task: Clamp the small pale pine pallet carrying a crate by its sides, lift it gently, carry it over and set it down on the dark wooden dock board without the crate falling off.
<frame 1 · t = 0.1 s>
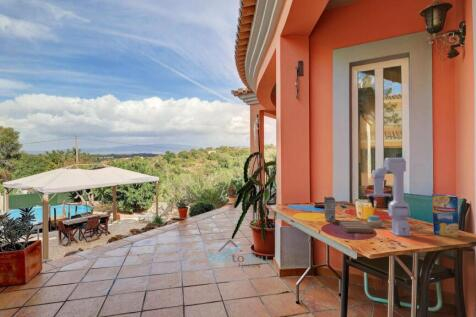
hand: (379, 207, 174), 10 cm above the table, tool pointing down, fingers open, 7 cm apart
crate: (373, 220, 164), point 4 cm above the table, touching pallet
dock: (354, 228, 160), on the table
coffee box: (329, 220, 183), on the table
blue cereal box: (445, 234, 143), on the table
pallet: (374, 226, 163), on the table, touching crate
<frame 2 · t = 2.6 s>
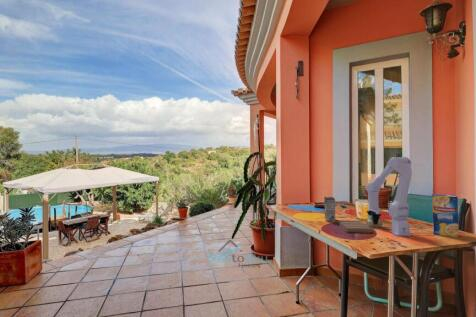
hand: (373, 223, 164), 2 cm above the table, tool pointing down, fingers closed on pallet, 5 cm apart
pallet: (374, 226, 163), on the table, touching crate, gripper
everything else where it was.
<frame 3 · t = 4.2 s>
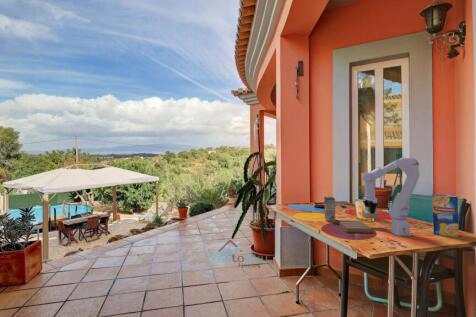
hand: (370, 212, 163), 9 cm above the table, tool pointing down, fingers closed on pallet, 5 cm apart
crate: (370, 211, 163), point 10 cm above the table, touching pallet
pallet: (370, 217, 163), point 6 cm above the table, touching crate, gripper
everything else where it was.
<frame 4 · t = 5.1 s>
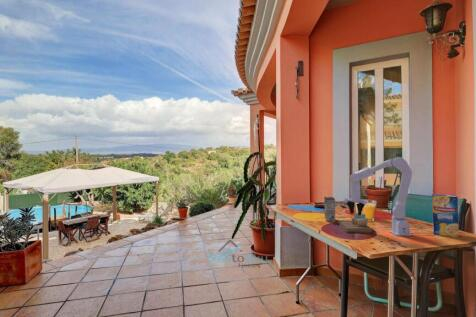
hand: (355, 214, 159), 9 cm above the table, tool pointing down, fingers open, 5 cm apart
crate: (359, 217, 159), point 6 cm above the table, touching gripper, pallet
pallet: (359, 224, 159), point 2 cm above the table, touching crate, dock
everything else where it was.
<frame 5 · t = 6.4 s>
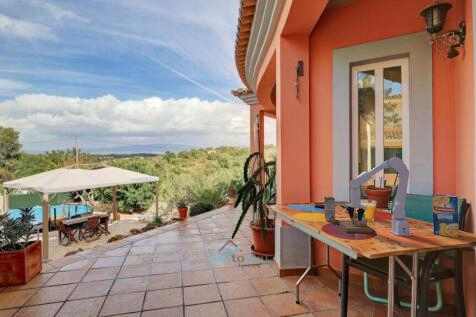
hand: (355, 219, 158), 5 cm above the table, tool pointing down, fingers closed on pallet, 5 cm apart
crate: (359, 217, 160), point 7 cm above the table, touching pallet
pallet: (359, 224, 160), point 3 cm above the table, touching crate, dock, gripper
everything else where it was.
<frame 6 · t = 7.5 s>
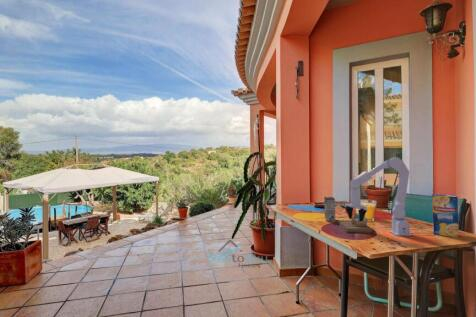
hand: (355, 219, 158), 5 cm above the table, tool pointing down, fingers open, 7 cm apart
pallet: (359, 224, 160), point 2 cm above the table, touching crate, dock
everything else where it was.
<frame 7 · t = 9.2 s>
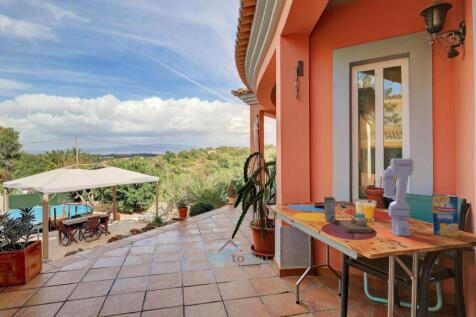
hand: (389, 209, 164), 10 cm above the table, tool pointing down, fingers open, 7 cm apart
nothing on the table moved.
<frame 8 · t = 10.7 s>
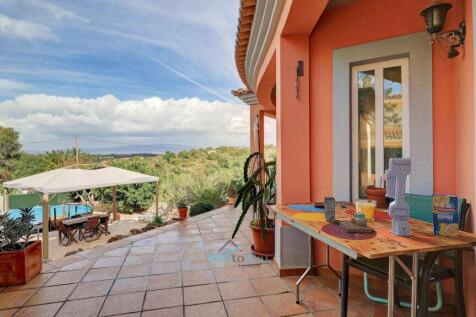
hand: (392, 209, 164), 10 cm above the table, tool pointing down, fingers open, 7 cm apart
nothing on the table moved.
at the end: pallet inside the target area on the dock (3.3 cm from its centre), point 2.5 cm above the dock's base; crate 0.4 cm off-centre on the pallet, point 4.0 cm above the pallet's base; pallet tilted 0° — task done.
